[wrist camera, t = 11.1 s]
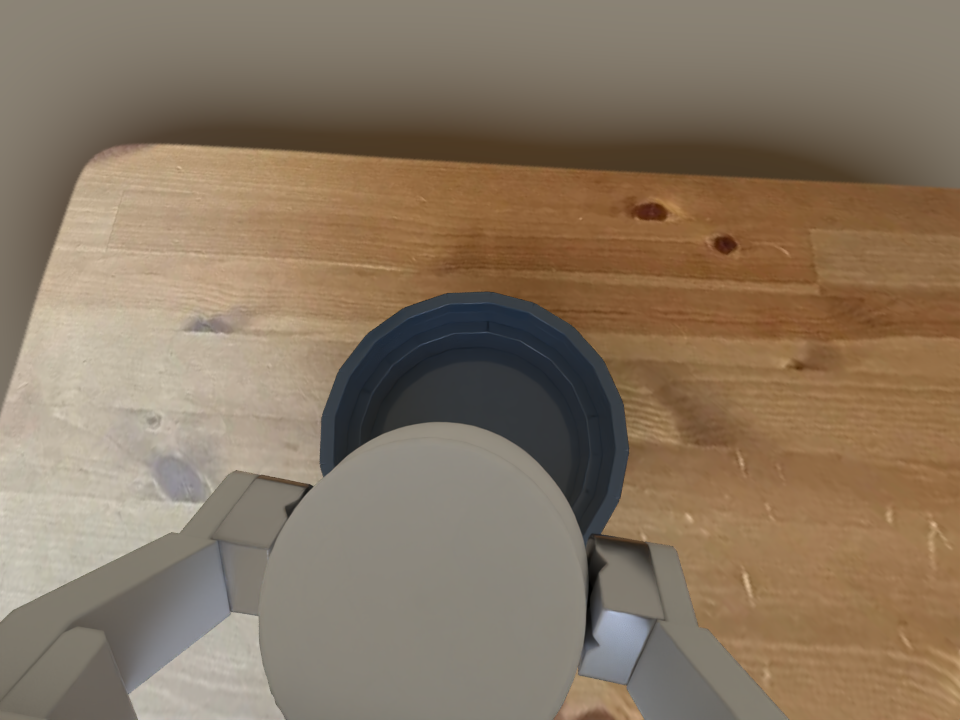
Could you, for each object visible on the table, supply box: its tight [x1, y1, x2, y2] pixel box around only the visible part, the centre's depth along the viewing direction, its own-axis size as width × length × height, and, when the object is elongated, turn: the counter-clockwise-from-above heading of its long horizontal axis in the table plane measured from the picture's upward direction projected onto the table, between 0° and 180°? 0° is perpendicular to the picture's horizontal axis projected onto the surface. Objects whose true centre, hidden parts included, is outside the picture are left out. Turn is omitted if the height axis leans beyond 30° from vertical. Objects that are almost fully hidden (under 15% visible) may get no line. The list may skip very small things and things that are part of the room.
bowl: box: [320, 292, 629, 549], centre depth 25 cm, size 13×13×6 cm
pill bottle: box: [259, 422, 589, 720], centre depth 10 cm, size 5×5×9 cm
